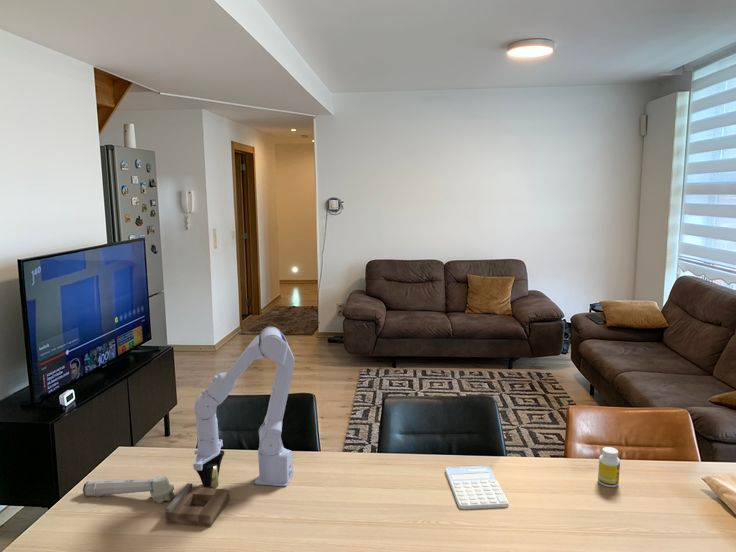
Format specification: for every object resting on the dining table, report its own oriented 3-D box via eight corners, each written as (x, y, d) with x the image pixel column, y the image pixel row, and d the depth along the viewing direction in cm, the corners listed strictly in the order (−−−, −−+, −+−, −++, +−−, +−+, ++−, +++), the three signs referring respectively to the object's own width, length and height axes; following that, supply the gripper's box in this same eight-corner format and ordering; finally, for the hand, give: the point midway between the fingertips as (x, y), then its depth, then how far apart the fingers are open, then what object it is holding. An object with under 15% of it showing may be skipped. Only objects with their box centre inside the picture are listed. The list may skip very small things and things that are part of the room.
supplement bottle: (619, 489, 151) (621, 455, 150) (598, 486, 153) (600, 453, 151) (617, 479, 156) (619, 447, 155) (597, 476, 158) (598, 444, 156)
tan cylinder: (220, 482, 158) (219, 463, 157) (214, 490, 154) (213, 470, 153) (207, 481, 158) (206, 462, 157) (201, 489, 154) (199, 469, 153)
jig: (229, 499, 149) (228, 486, 148) (211, 526, 137) (209, 511, 137) (188, 496, 151) (187, 483, 150) (165, 523, 139) (164, 508, 138)
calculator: (459, 511, 143) (459, 504, 143) (444, 472, 163) (444, 466, 162) (509, 509, 144) (510, 502, 143) (489, 470, 163) (489, 464, 163)
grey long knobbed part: (91, 476, 155) (174, 469, 151) (96, 498, 156) (178, 492, 152) (79, 486, 150) (164, 479, 146) (85, 509, 151) (170, 502, 147)
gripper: (205, 424, 161) (208, 467, 163) (182, 447, 147) (185, 494, 149) (228, 425, 160) (231, 469, 162) (206, 449, 146) (210, 496, 148)
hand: (210, 481), depth 156 cm, fingers open, 4 cm apart
